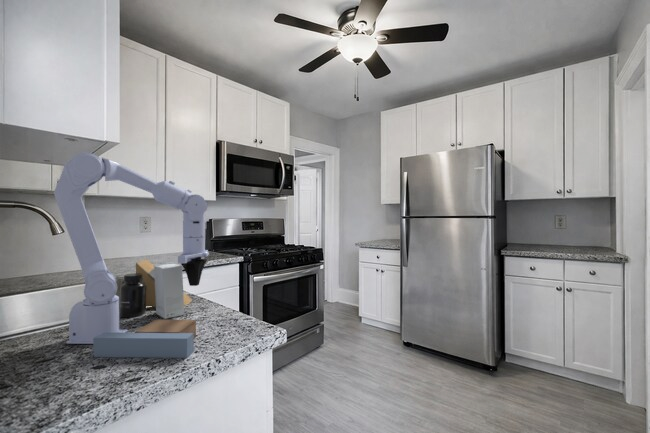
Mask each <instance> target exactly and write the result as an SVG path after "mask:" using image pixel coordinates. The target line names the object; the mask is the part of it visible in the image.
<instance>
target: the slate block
mask: <svg viewBox="0 0 650 433" xmlns="http://www.w3.org/2000/svg"><path fill="white" fill-rule="evenodd" d="M92 345H93V357H94V358H160V359H161V358H165V359H167V358H168V359H169V358H174V359H175V358H178V359H179V358H183V359H185V358H186V359H187V358H188V357H190V356H191V355H192V354H193V353H194V350H195V348H194V347H195V338H194V333H135V332H126V333H102V334H100V335H98V336H96V337H94V338H93V344H92Z"/></svg>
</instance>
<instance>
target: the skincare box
mask: <svg viewBox="0 0 650 433" xmlns="http://www.w3.org/2000/svg"><path fill="white" fill-rule="evenodd" d="M154 275H155V298H156V308H155V314H156V315H158V316H159V317H161V318H162V319H163V320H168V319H170V318H176V317H181V316H184V315H185V306H184V294H183V292H184V281H183V275H184V274H183V266H182V265H181V264H178V263H177V264H175V263H168V264H166V263H165V264H159V265H154Z"/></svg>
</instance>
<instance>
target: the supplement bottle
mask: <svg viewBox="0 0 650 433" xmlns="http://www.w3.org/2000/svg"><path fill="white" fill-rule="evenodd" d="M142 280H143V274H141V273H136V272H134V273H128V274H127V273H126V274H124V275H123V282H124V283H122V285H121V286H120V288H119V317H121V318H134V316H136V317H139V315H140V316H142V314H143V315H145V313H146V312H147V308H146V284H145V283H144V282H142Z"/></svg>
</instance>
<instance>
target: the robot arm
mask: <svg viewBox="0 0 650 433" xmlns="http://www.w3.org/2000/svg"><path fill="white" fill-rule="evenodd" d="M102 178H104V181H105V182H109V181H111V182H112V181H113V182H114V181H119V182H123V183H124V184H128V185H130V186H132V187H135V188H137V189H140V190H143V191H145V192H148V193H150V194H152V197H153V199H154V200H155V201H156V202H159V203H161V204H164V205H166V206H168V207H171V208H174V209H176V210H181V212H182V213H183V216H182V218H183V219H182V253H181V254H180V255H177V264H180V265H182V269H184V271H185V273H186V277H187V280H188V284H189V286H191V287H192V286H193V287H196V286H199V285H200V283H201V282H200V281H201V277H202V274H203V271H204V268H205V265H206V264H207V261H208V260H207V258H206V257H208V256H209V255H210V252H209V249H206V245H205V244H206V243H205V242H206V240H205V239H206V236H205V235H206V232H205V231H206V228H205V227H206V225H205V224H206V222H205V213H206V211H207V209H208V204H207V201H206V199H205V198H204V197H203V196H201V195H200V194H192V190H190V189H188V190H186V189H184V188H182V187H179V185H178V186H177V185H175V184H176V183H175V182H174V181H172V180H170V181H166V180H162V181H159V182H158V181H155V180H153V179H150V178H149V177H147V176H145V175H143V174H140V173H139V172H137V171H134V170H132V169H130V168H128V167H126V166H124V165H122V164H120V163H118V162H115V161H113V160H111V159H109V158H105V157H99V156H98V155H96V154H94V153H92V152H80V153H76V154H75V155H73V156H72V157H71V158H70V159H69V160H68V161H66V162H65V164H64V165H63V168H62V171H61V174H60V177H59V179H58V181H57V183H56V187H55V189H54V191H53V194H54V198H55V200H56V204H57V206H58V209H59V211H60V214H61V216H62V219H63V222H64V225H65V227H66V231H67V233H68V236H69V238H70V240H71V244H72V246H73V249H74V251H75V254H76V257H77V260H78V263H79V266H80V269H81V273H82V277H83V280H84V289H83V295H84V297H85V299H82V301H78V302H77V303H75V304H74V305H73V306H72V307H71V309H70V312H69V315H68V316H69V317H68V319H69V320H68V322H69V323H68V336H69V338H68V339H69V340H67V341H66V344H70V345H71V344H73V345H74V344H75V345H76V344H77V345H80V344H81V345H83V344H84V345H85V344H86V345H93V338H94V337H96V336H98V335H100V334H102V333H128V331H129V330H128V329H121V328H120V295H119V296H118V295H116V294H117V292H118V284H117V278H116V276H115V275H114V274H113V273H112V272H111V271H109V269H108V267H107V265H106V262H105V260H104V257H103V255H102V252H101V249H100V246H99V243H98V241H97V237H96V235H95V232H94V230H93V226H92V224H91V221H90V218H89V216H88V213H87V210H86V207H85V204H84V202H83V196H84V195H85V194H86V193H87V191H88V190H89V189H90V187H92V186H94V185H95V184H97V183H98V182H100V181H101V180H102ZM203 257H205V258H203Z"/></svg>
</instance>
